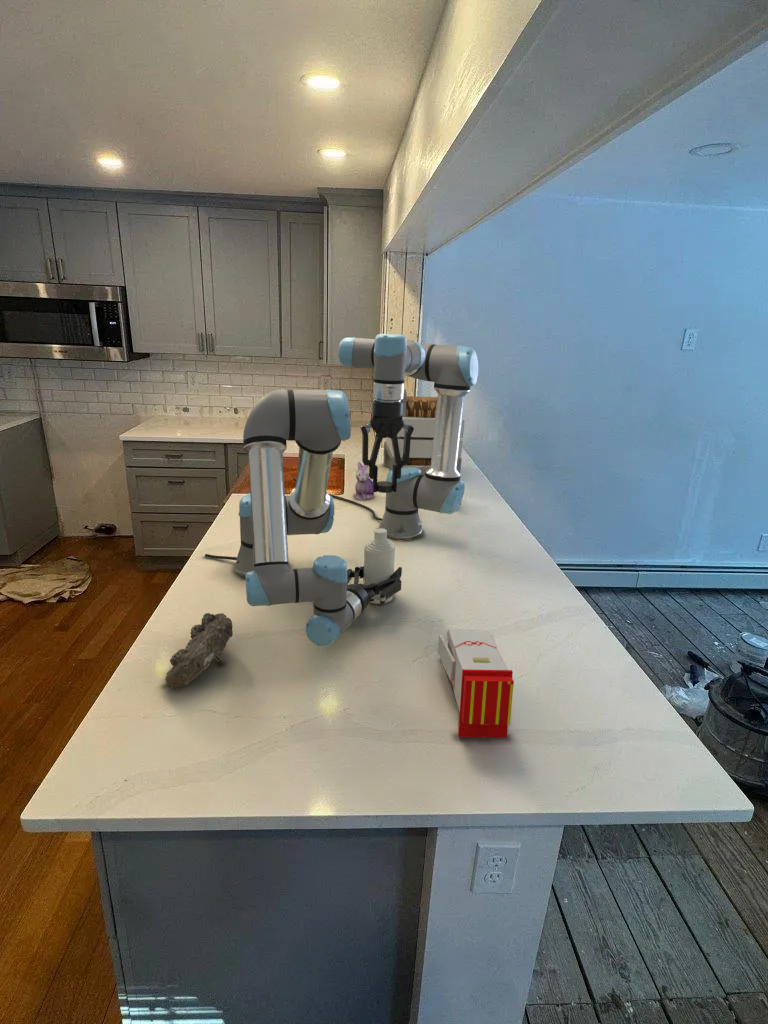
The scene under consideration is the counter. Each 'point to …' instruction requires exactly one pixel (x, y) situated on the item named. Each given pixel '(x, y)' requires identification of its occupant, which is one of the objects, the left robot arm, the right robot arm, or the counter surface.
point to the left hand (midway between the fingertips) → (385, 568)
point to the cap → (384, 487)
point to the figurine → (363, 483)
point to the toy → (478, 682)
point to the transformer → (418, 432)
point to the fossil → (200, 649)
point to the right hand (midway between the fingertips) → (384, 490)
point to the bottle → (378, 560)
